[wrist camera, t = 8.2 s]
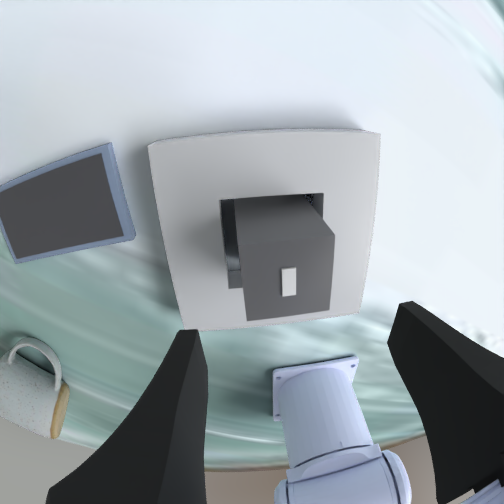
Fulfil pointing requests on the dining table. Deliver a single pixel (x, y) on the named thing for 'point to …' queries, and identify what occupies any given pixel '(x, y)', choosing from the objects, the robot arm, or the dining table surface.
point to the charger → (283, 256)
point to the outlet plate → (255, 185)
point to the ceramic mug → (33, 391)
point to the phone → (66, 207)
